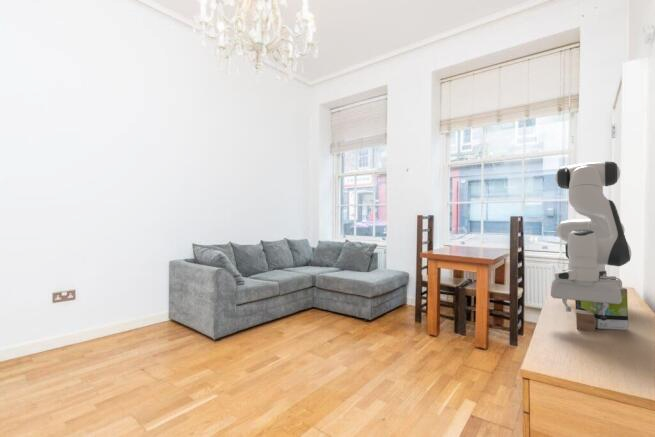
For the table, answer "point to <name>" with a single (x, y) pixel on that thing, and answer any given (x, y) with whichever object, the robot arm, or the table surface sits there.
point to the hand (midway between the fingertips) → (584, 313)
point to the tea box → (608, 313)
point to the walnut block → (585, 320)
